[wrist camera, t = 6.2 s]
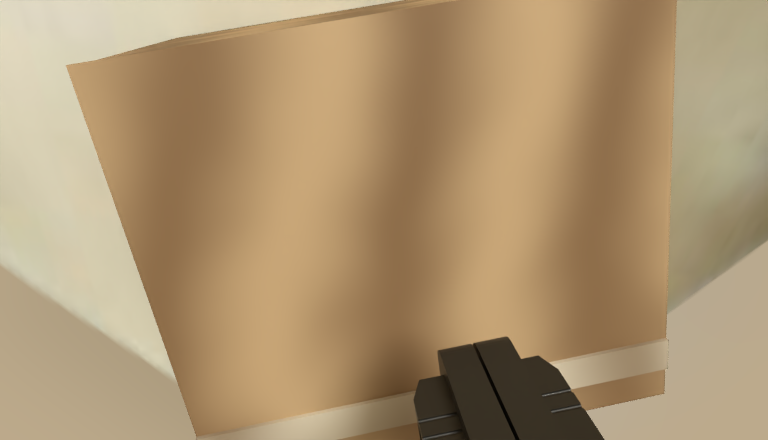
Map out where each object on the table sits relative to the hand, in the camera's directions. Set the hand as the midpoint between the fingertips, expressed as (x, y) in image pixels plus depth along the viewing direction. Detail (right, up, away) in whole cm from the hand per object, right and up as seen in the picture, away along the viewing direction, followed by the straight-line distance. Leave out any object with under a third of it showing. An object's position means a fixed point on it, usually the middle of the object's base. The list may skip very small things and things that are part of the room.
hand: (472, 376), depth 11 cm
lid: (-1, +2, +6) cm, 7 cm away
